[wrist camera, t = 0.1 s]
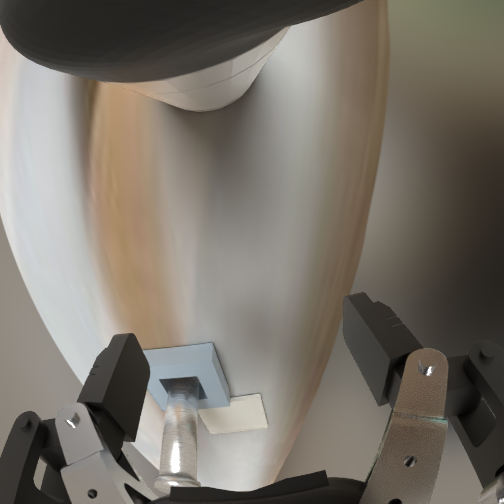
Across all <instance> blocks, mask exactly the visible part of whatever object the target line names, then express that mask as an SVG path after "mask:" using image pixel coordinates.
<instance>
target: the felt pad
mask: <svg viewBox="0 0 504 504" xmlns="http://www.w3.org/2000/svg"><path fill="white" fill-rule="evenodd" d="M198 414H199V416H200V417H201V419H202V421H203V422H204V424H205V425H206V427H207V429H208V430H209V432H210V433H211V434H219V433H230V432H239V431H247V430H254V429H261V428H268V423H267V419H266V416H265V412H264V408H263V404H262V400H261V396H260V394H253V395H247V396H239V397H232V398H230V406H228V407H219V408H209V409H198Z"/></svg>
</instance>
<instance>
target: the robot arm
mask: <svg viewBox="0 0 504 504" xmlns="http://www.w3.org/2000/svg"><path fill="white" fill-rule="evenodd" d="M361 1H363V0H0V25H1V28H2V31H3V33H4V35H5V37H6V38H7V40H8V42H9V43H10V44H11V45H12V46H13V47H14V49H16V50H17V51H18V52H19V53H21V54H22V55H23V56H24V57H26V58H28V59H29V60H31V61H33V62H35V63H37V64H39V65H42V66H45V67H47V68H50V69H53V70H57V71H60V72H64V73H68V74H72V75H76V76H80V77H84V78H88V79H92V80H97V81H101V82H104V83H108V84H111V85H114V86H118V87H121V88H124V89H127V90H130V91H134V92H137V93H140V94H143V95H146V96H149V97H151V98H154V99H157V100H160V101H162V102H165V103H168V104H170V105H173V106H176V107H178V108H181V109H183V110H188V111H197V112H204V111H213V110H216V109H220V108H223V107H225V106H227V105H229V104H231V103H233V102H234V101H236V100H237V99H238V98H240V97H241V96H242V95H243V94H244V93H245V92H246V91H247V90H248V88H249V87H250V86H251V84H252V82H253V81H254V80H255V78H256V77H257V75H258V74H259V72H260V71H261V69H262V67H263V66H264V64H265V63H266V61H267V60H268V58H269V57H270V55H271V54H272V53H273V51H274V50H275V48H276V47H277V45H278V44H279V42H280V41H281V40H282V38H283V37H284V35H285V34H286V32H287V31H288V29H289V28H290V26H292V25H296V24H299V23H303V22H306V21H310V20H313V19H316V18H320V17H323V16H326V15H329V14H332V13H334V12H337V11H340V10H343V9H345V8H348V7H350V6H352V5H354V4H357V3H359V2H361ZM343 334H344V339H345V342H346V345H347V346H348V348H349V350H350V352H351V354H352V356H353V357H354V360H355V361H356V363H357V365H358V367H359V369H360V371H361V373H362V375H363V377H364V379H365V380H366V382H367V384H368V386H369V388H370V390H371V392H372V394H373V396H374V398H375V400H376V402H377V404H378V406H382V405H384V404H387V403H389V404H390V406H391V408H392V411H391V414H390V417H389V420H388V423H387V426H386V429H385V432H384V435H383V437H382V440H381V443H380V446H379V448H378V451H377V454H376V456H375V459H374V461H373V463H372V466H371V468H370V470H369V472H368V475H367V477H366V479H365V481H364V482H362V481H358V480H354V479H348V478H338V477H329V478H327V475H326V471H325V470H323V471H319V472H315V473H311V474H306V475H301V476H297V477H292V478H287V479H284V480H281V481H279V482H276V483H273V484H271V485H268V486H265V487H262V488H260V489H257V490H254V491H251V492H236V491H228V490H222V489H216V488H211V487H175V486H171V488H170V495H166V496H163V497H160V498H158V497H157V496H156V495H155V494H154V493H153V492H152V491H151V490H150V489H149V488H148V486H147V485H146V484H145V482H144V481H143V479H142V478H141V476H140V475H139V473H138V471H137V470H136V468H135V467H134V465H133V463H132V462H131V460H130V458H129V457H128V455H127V453H126V452H125V450H124V449H123V448H122V445H123V441H126V442H135V439H136V434H137V430H138V425H139V421H140V416H141V412H142V408H143V403H144V399H145V395H146V391H147V387H148V383H149V379H150V366H149V363H148V360H147V358H146V356H145V354H144V352H143V350H142V348H141V346H140V344H139V342H138V340H137V338H136V336H135V335H134V334H133V333H127V334H117V335H114V336H113V338H112V340H111V342H110V344H109V346H108V348H105V349H104V350H103V351H102V352H101V353H100V354H99V355H98V356H97V358H96V360H95V362H94V365H93V368H92V369H91V371H90V373H89V374H90V375H89V376H88V377H87V380H86V382H85V384H84V386H83V388H82V391H81V393H80V395H79V398H78V400H77V402H74V403H70V404H67V405H66V406H64V407H63V408H62V409H61V410H60V411H59V412H58V414H57V416H56V418H54V419H48V420H43V421H42V420H41V419H40V417H38V415H37V414H36V413H35V412H32V411H27V412H24V413H22V414H21V415H20V416H19V417H18V418H17V419H16V420H15V422H14V425H13V427H12V429H11V432H10V434H9V436H8V439H7V442H6V444H5V447H4V449H3V452H2V455H1V457H0V504H429V502H430V499H431V496H432V493H433V489H434V486H435V482H436V479H437V475H438V471H439V467H440V463H441V459H442V454H443V449H444V444H445V438H446V433H447V425H448V423H447V420H446V419H444V418H446V417H448V418H449V420H450V422H451V423H452V425H453V427H454V429H455V431H456V433H457V435H458V437H459V438H460V440H461V442H462V444H463V446H464V448H465V450H466V452H467V454H468V456H469V459H470V461H471V463H472V465H473V467H474V469H475V471H476V473H477V476H478V478H479V480H480V482H481V485H482V487H483V490H482V492H481V494H480V496H479V501H478V504H504V351H503V350H502V349H501V348H500V347H499V346H498V345H497V344H495V343H494V342H491V341H488V340H481V341H477V342H475V343H473V344H472V345H471V347H470V349H469V351H468V354H467V355H463V356H456V357H450V358H446V357H445V356H444V355H443V354H442V353H441V352H439V351H437V350H434V349H429V348H423V347H422V346H421V344H420V343H419V342H418V341H417V339H416V338H415V337H414V336H413V334H412V333H411V332H410V331H409V329H408V328H407V327H406V326H405V325H404V324H403V323H402V321H401V320H400V319H399V318H398V317H397V316H396V314H395V313H394V312H393V311H392V309H391V308H390V307H388V306H386V305H385V304H383V303H381V302H379V301H378V302H375V303H373V302H372V301H371V300H370V298H369V297H368V296H367V295H366V293H364V292H361V293H357V294H353V295H348V296H345V297H344V299H343ZM483 399H485V401H486V402H487V404H488V405H489V406H490V408H491V410H492V411H493V413H494V414H495V417H496V419H495V417H494V415H493V414H492V412H491V411H490V409H489V408H488V406H487V404H486V403H485V401H484V400H483ZM39 458H40V459H41V460H42V461H44V462H45V463H46V464H47V466H46V471H45V474H44V478H43V481H42V486H41V490H39V489H37V488H36V486H35V484H34V480H33V477H34V473H35V469H36V466H37V463H38V460H39Z"/></svg>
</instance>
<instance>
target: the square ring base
mask: <svg viewBox="0 0 504 504" xmlns="http://www.w3.org/2000/svg"><path fill="white" fill-rule="evenodd" d="M143 352H144V354H145V356H146V358H147V360H148V363H149V366H150V379H149V383H148V387H147V390H148V391H149V393H150V394H151V395H152V397H153V398H154V400H155V401H156V403H157V404H158V405H159V407H160V408H161V410H162V411H166V406H167V398H168V391H169V384H170V378H182V377H193V376H198V379H199V381H200V383H199V401H198V409H209V408H219V407H228V406H230V393H229V387H228V385H227V382H226V379H225V377H224V374H223V371H222V368H221V366H220V363H219V360H218V357H217V354H216V351H215V349H214V346H213V343H205V344H197V345H189V346H181V347H172V348H162V349H151V350H143Z"/></svg>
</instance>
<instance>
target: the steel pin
mask: <svg viewBox="0 0 504 504" xmlns="http://www.w3.org/2000/svg"><path fill="white" fill-rule="evenodd" d="M198 401H199V379H198V376H193V377H182V378H170V384H169V391H168V398H167V406H166V414H165V422H164V431H163V440H162V450H161V460H160V472H159V476H158V477H156V478H155V485H154V487H155V488H156V489H157V490H159V491H162V492H165V493H169V494H170V488H171V486H175V487H201V484H200V482H198V481H197V429H198Z"/></svg>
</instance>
